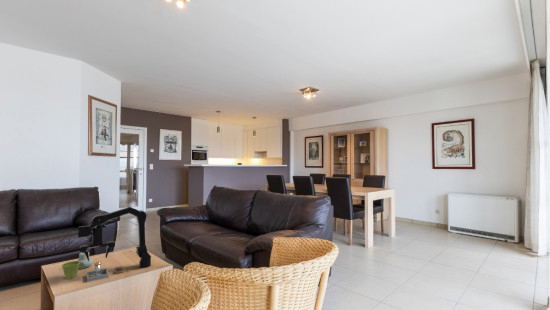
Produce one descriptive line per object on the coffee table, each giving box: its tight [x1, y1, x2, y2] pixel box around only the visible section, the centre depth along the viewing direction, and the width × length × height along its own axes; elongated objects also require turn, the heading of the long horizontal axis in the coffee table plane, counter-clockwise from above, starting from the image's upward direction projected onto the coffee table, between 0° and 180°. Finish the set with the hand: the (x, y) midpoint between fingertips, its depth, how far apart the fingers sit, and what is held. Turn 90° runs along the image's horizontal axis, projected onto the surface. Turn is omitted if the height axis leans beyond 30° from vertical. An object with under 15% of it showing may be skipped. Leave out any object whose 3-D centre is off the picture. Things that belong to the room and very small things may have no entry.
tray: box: [86, 267, 110, 283], centre depth 172 cm, size 11×11×3 cm
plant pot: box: [61, 260, 80, 280], centre depth 173 cm, size 9×9×9 cm
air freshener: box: [76, 251, 94, 270], centre depth 190 cm, size 11×8×10 cm
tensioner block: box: [109, 266, 129, 277], centre depth 180 cm, size 10×11×2 cm
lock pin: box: [93, 261, 102, 276], centre depth 172 cm, size 4×4×9 cm
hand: (97, 259), depth 172 cm, fingers open, 9 cm apart
